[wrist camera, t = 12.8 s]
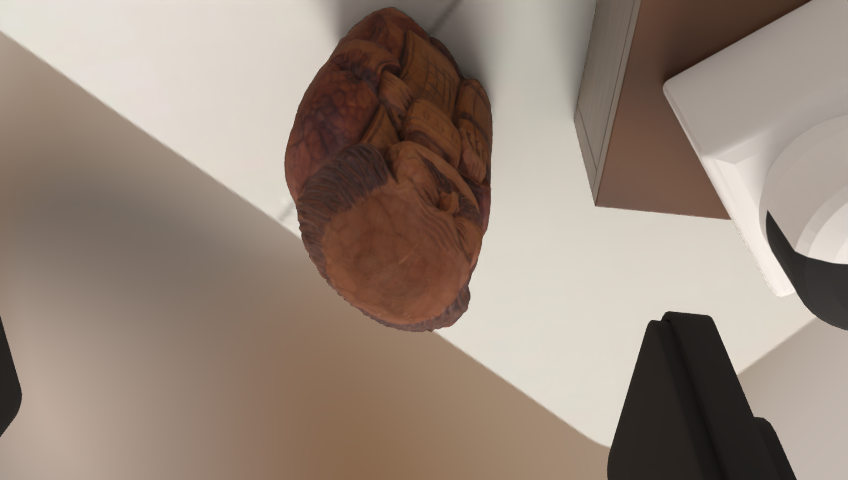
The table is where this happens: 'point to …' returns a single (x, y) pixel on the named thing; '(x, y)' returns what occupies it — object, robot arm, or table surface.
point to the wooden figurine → (393, 174)
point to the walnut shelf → (654, 98)
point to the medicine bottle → (780, 148)
